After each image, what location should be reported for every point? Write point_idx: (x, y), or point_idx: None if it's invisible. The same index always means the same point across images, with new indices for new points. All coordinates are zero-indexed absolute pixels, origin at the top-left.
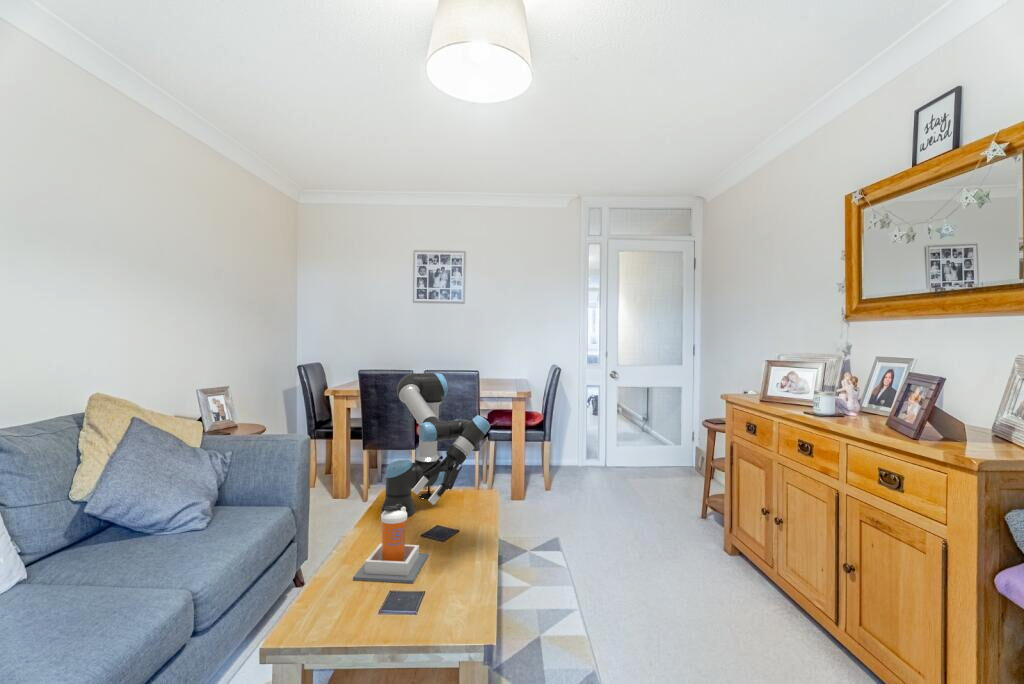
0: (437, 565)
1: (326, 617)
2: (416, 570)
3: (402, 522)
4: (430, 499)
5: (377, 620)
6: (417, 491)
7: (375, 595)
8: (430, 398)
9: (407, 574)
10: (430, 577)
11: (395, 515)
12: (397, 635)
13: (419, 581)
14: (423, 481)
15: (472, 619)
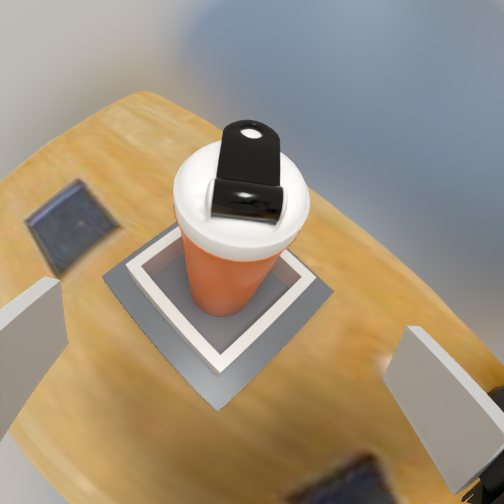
0: (140, 394)
1: (139, 129)
2: (138, 315)
3: (174, 210)
4: (35, 288)
5: (66, 170)
6: (399, 376)
7: (129, 198)
8: None
9: (133, 280)
10: (95, 332)
11: (191, 158)
12: (21, 177)
13: (100, 298)
14: (460, 432)
15: None
